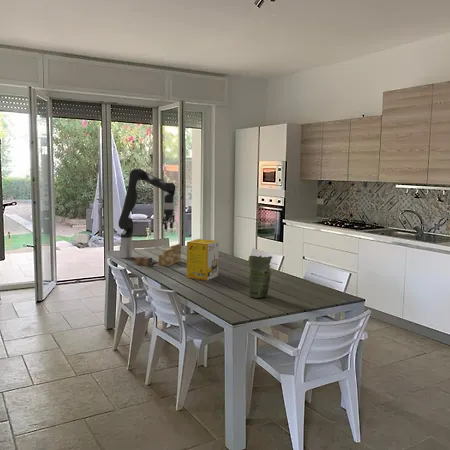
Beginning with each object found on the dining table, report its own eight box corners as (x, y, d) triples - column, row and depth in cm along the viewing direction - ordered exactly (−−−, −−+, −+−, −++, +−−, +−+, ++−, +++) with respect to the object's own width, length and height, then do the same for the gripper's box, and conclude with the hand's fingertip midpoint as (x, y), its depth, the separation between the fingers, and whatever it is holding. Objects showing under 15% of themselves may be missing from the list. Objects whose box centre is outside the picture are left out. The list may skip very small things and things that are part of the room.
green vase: (245, 295, 278) (246, 254, 275) (261, 292, 284) (262, 252, 281) (256, 300, 269) (257, 257, 265) (272, 297, 275) (274, 256, 272)
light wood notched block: (158, 265, 357) (158, 247, 355) (172, 260, 376) (172, 243, 374) (167, 266, 354) (167, 248, 352) (180, 261, 373) (180, 244, 371)
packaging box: (198, 272, 333) (198, 238, 330) (218, 275, 326) (218, 240, 323) (186, 277, 319) (186, 242, 316) (207, 280, 312) (207, 244, 309)
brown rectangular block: (135, 264, 358) (135, 257, 357) (138, 263, 362) (138, 256, 361) (149, 266, 353) (149, 258, 352) (152, 265, 357) (152, 257, 356)
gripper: (169, 207, 368) (168, 227, 370) (159, 208, 355) (159, 229, 357) (177, 207, 365) (177, 228, 367) (168, 209, 352) (168, 230, 354)
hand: (168, 228), depth 362 cm, fingers open, 8 cm apart
